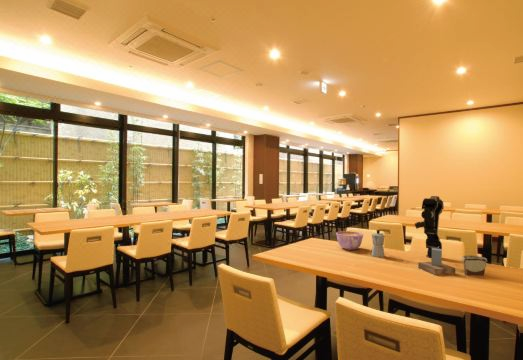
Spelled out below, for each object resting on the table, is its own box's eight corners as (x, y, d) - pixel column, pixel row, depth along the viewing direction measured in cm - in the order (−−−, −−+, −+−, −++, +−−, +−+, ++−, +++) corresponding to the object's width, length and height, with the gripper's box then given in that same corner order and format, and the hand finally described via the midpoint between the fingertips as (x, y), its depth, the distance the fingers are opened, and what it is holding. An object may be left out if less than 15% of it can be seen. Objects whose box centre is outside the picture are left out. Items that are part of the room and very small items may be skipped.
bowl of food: (359, 253, 206) (359, 237, 206) (332, 249, 217) (332, 234, 217) (366, 247, 223) (366, 232, 223) (340, 244, 234) (340, 230, 234)
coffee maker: (380, 258, 192) (381, 232, 192) (367, 256, 198) (368, 230, 198) (388, 254, 203) (389, 229, 203) (376, 252, 209) (376, 227, 209)
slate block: (431, 263, 172) (431, 247, 172) (441, 264, 169) (441, 249, 169) (431, 265, 167) (431, 249, 167) (441, 266, 165) (441, 250, 165)
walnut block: (436, 267, 175) (437, 261, 175) (455, 274, 163) (455, 267, 163) (418, 269, 173) (418, 262, 173) (435, 276, 160) (435, 269, 160)
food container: (479, 272, 165) (480, 255, 165) (487, 276, 159) (487, 258, 159) (457, 271, 166) (457, 254, 166) (463, 275, 160) (463, 257, 160)
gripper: (415, 215, 197) (415, 238, 197) (415, 218, 181) (414, 243, 181) (434, 216, 192) (434, 240, 192) (436, 220, 175) (435, 245, 175)
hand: (429, 242), depth 185 cm, fingers open, 9 cm apart
